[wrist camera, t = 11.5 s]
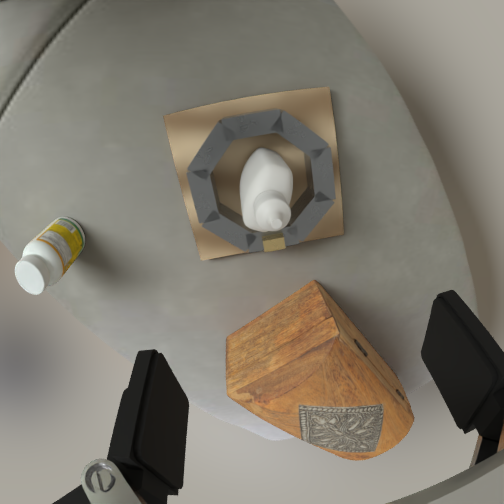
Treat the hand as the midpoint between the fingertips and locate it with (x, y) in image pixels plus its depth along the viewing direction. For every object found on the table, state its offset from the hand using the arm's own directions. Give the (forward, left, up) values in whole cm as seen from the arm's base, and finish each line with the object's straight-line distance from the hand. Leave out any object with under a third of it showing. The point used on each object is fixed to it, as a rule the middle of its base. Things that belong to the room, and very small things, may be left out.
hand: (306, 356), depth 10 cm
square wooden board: (0, 0, -24) cm, 24 cm away
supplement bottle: (+2, -24, -24) cm, 34 cm away
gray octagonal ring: (0, 0, -23) cm, 23 cm away
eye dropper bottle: (0, 0, -23) cm, 23 cm away
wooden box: (+31, +5, -25) cm, 40 cm away
